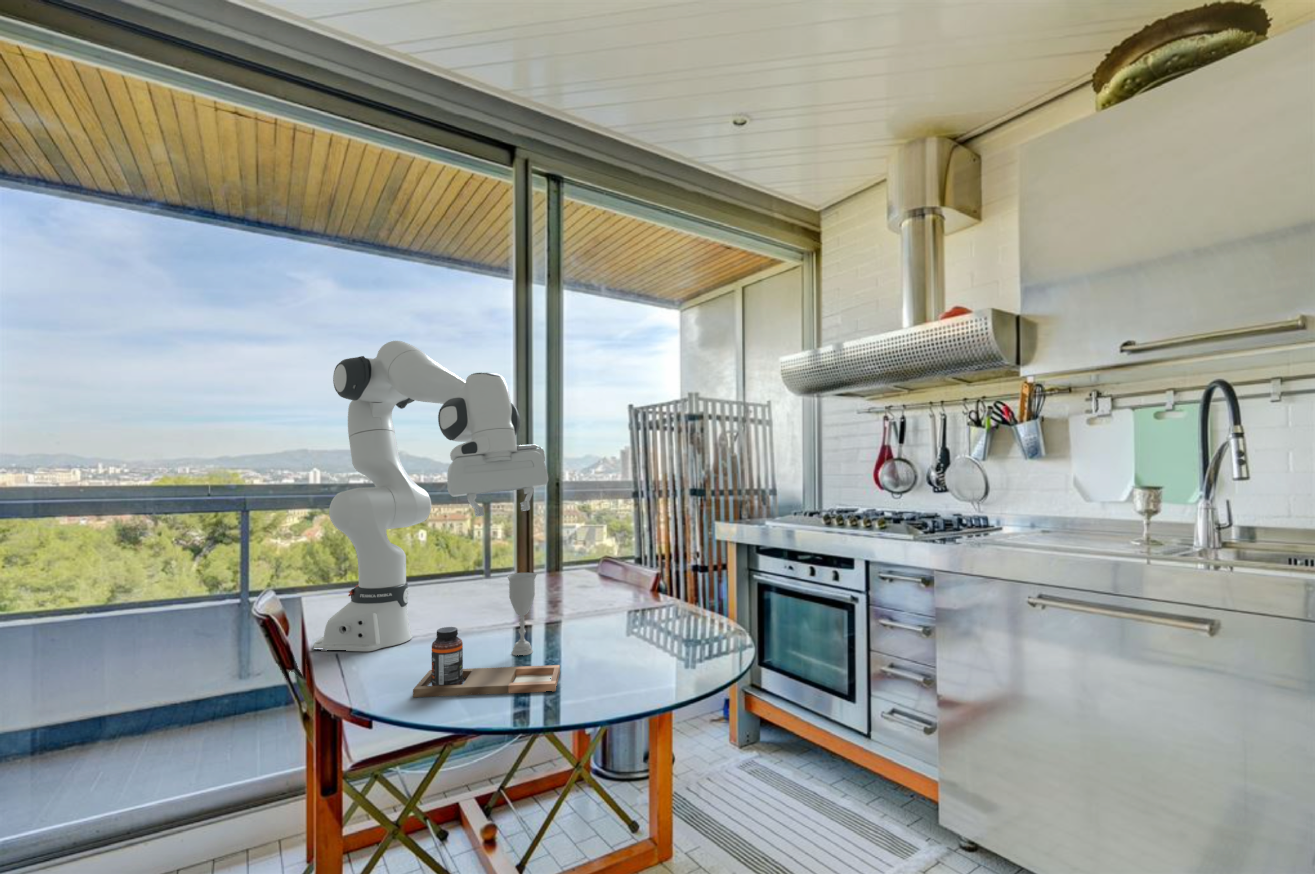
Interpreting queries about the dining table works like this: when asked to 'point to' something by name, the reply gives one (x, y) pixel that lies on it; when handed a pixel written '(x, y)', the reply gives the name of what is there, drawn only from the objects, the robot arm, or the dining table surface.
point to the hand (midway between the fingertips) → (503, 513)
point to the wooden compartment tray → (494, 681)
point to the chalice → (522, 605)
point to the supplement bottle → (447, 658)
